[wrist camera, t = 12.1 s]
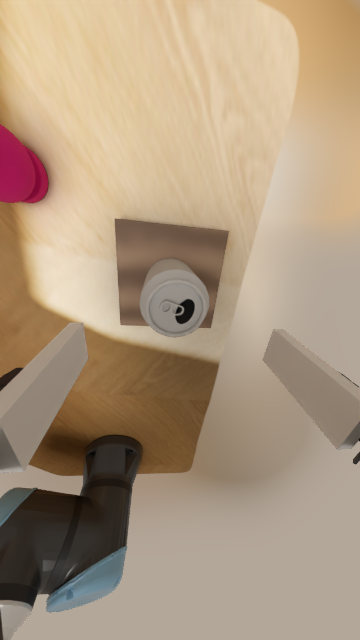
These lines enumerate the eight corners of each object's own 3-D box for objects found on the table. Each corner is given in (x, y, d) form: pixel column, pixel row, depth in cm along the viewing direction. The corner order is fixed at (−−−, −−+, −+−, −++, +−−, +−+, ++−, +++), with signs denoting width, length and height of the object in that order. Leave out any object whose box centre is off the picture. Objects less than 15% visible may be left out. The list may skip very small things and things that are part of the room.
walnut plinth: (206, 320, 35) (210, 327, 33) (123, 317, 33) (120, 325, 31) (222, 231, 29) (228, 231, 26) (119, 220, 27) (114, 218, 24)
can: (182, 310, 31) (195, 351, 20) (139, 295, 29) (128, 332, 18) (200, 268, 28) (226, 289, 17) (154, 249, 26) (152, 259, 15)
